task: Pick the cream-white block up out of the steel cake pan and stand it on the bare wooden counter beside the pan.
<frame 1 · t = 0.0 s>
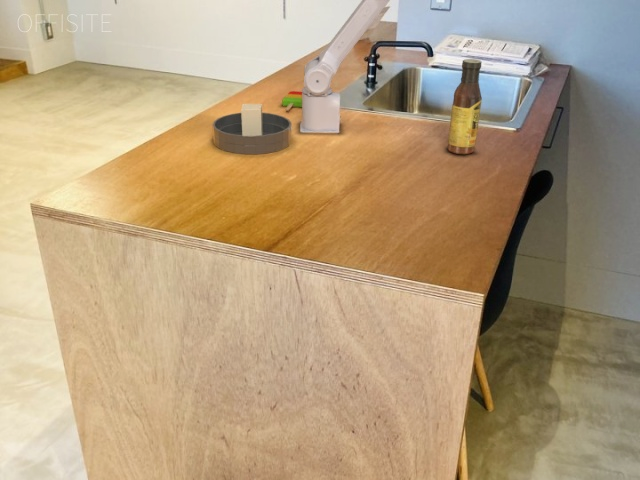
popsicle: (293, 106, 186), on the countertop
sauce bottle: (460, 151, 158), on the countertop
cream block: (252, 141, 159), resting on steel cake pan
steel cake pan: (252, 142, 160), on the countertop
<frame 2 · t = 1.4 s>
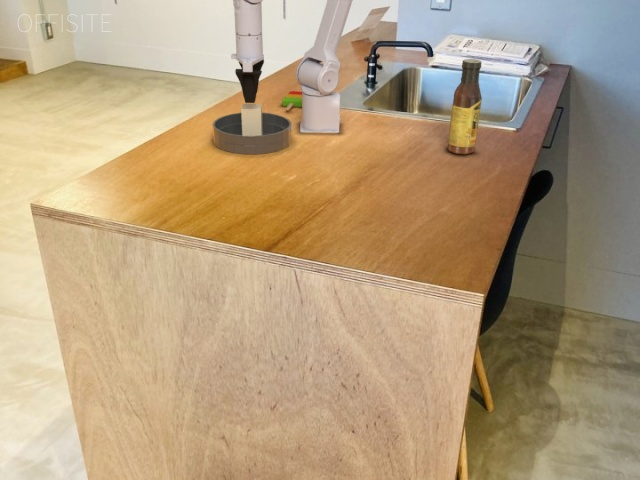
hand: (251, 97, 154), 10 cm above the countertop, tool pointing down, fingers open, 7 cm apart
nothing on the countertop moved.
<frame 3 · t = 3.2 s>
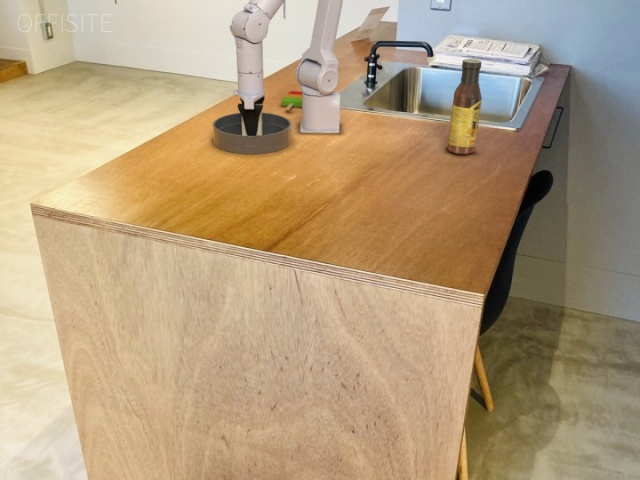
hand: (252, 131, 158), 3 cm above the countertop, tool pointing down, fingers closed on cream block, 4 cm apart
cream block: (252, 141, 159), resting on steel cake pan, touching gripper
everything else where it was.
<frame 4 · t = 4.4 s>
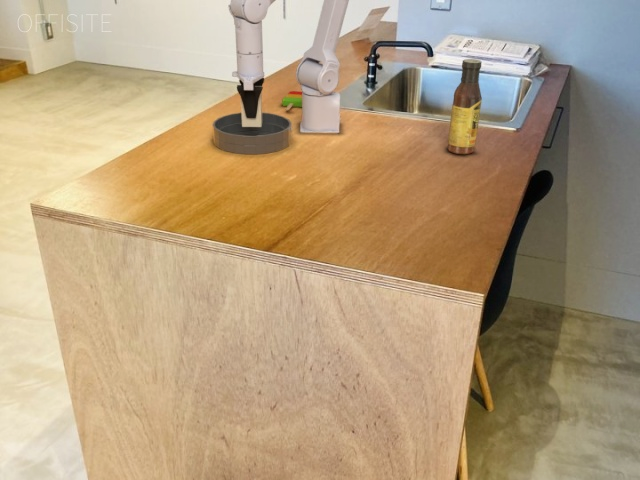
hand: (252, 114, 156), 7 cm above the countertop, tool pointing down, fingers closed on cream block, 4 cm apart
cream block: (252, 124, 157), point 4 cm above the countertop, touching gripper
everything else where it was.
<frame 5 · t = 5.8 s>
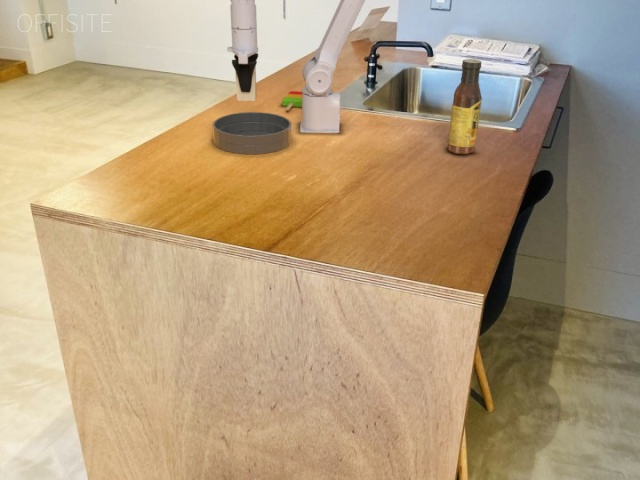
hand: (246, 88, 162), 10 cm above the countertop, tool pointing down, fingers closed on cream block, 4 cm apart
cream block: (246, 98, 163), point 8 cm above the countertop, touching gripper
everything else where it was.
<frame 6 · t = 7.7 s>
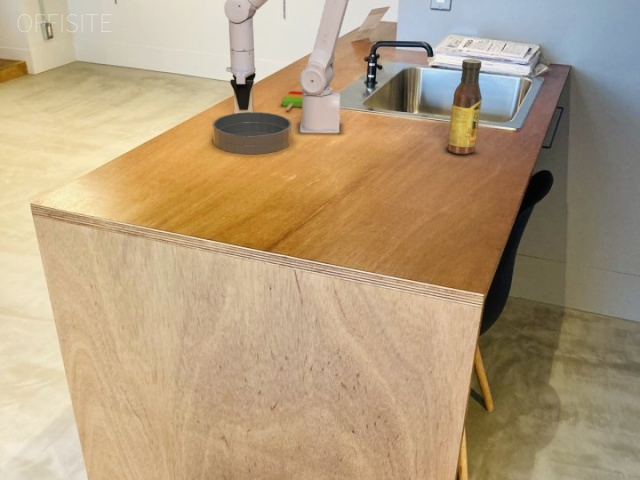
hand: (244, 106, 171), 4 cm above the countertop, tool pointing down, fingers closed on cream block, 4 cm apart
cream block: (244, 115, 172), point 2 cm above the countertop, touching gripper
everything else where it was.
when the fingers open (2 cm above the countertop, at t = 8.7 s): cream block stays where it is, on the countertop.
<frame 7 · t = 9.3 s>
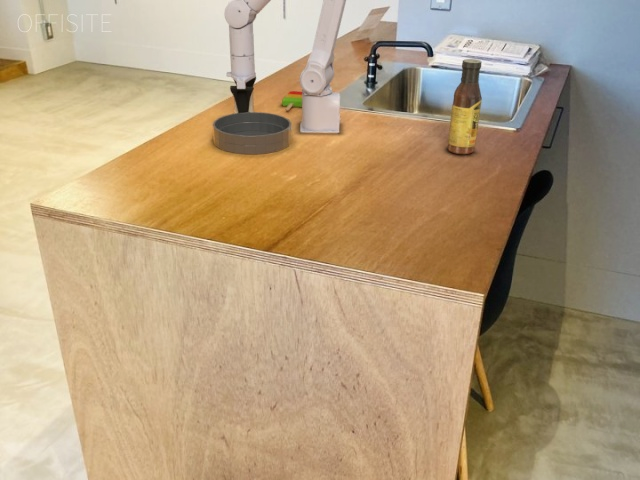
hand: (244, 111, 171), 3 cm above the countertop, tool pointing down, fingers open, 7 cm apart
cream block: (244, 121, 173), on the countertop
everything else where it was.
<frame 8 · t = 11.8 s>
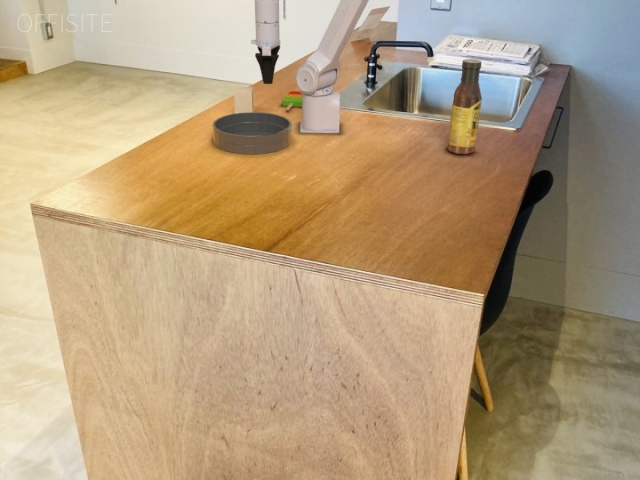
hand: (268, 79, 171), 9 cm above the countertop, tool pointing down, fingers open, 7 cm apart
nothing on the countertop moved.
at the end: cream block inside the target area (0.1 cm from its centre), on the countertop; cream block tilted 0°; the gripper is holding nothing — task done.
